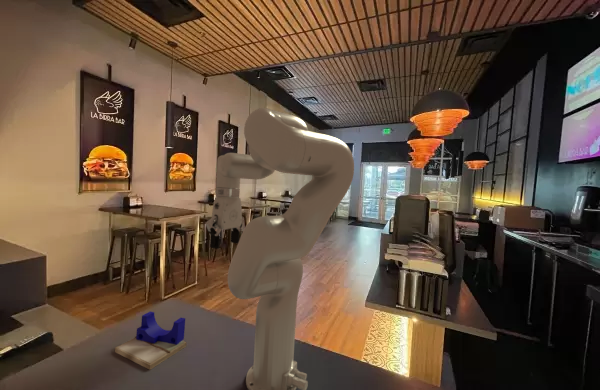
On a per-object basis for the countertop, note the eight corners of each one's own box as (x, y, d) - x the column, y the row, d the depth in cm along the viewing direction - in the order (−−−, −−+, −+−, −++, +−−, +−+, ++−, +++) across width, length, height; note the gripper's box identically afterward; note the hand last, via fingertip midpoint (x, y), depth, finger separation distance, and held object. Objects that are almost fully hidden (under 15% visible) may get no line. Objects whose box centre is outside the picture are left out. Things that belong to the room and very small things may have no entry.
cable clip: (136, 339, 74) (137, 317, 74) (148, 331, 79) (150, 311, 79) (173, 347, 72) (174, 325, 72) (183, 339, 76) (185, 318, 76)
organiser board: (186, 346, 75) (186, 341, 75) (150, 369, 65) (150, 363, 65) (152, 332, 81) (153, 327, 81) (115, 352, 71) (115, 346, 71)
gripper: (218, 194, 77) (215, 252, 78) (252, 194, 93) (250, 242, 93) (199, 192, 80) (196, 248, 81) (235, 192, 96) (233, 239, 97)
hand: (225, 245), depth 87 cm, fingers open, 9 cm apart
